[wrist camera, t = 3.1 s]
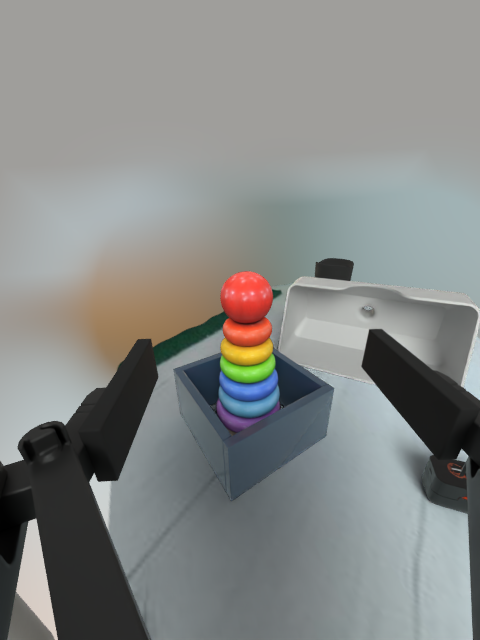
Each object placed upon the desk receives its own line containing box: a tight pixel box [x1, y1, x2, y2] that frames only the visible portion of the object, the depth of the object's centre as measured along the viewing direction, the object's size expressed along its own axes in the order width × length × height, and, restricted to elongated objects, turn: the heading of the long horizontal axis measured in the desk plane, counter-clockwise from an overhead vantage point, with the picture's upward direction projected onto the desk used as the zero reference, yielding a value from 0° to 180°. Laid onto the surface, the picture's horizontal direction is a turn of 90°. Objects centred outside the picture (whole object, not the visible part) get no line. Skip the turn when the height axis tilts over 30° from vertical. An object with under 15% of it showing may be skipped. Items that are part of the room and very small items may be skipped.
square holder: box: [173, 348, 334, 501], centre depth 30 cm, size 13×13×7 cm
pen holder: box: [315, 258, 354, 281], centre depth 69 cm, size 9×9×10 cm
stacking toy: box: [216, 271, 280, 436], centre depth 27 cm, size 8×8×19 cm
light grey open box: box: [278, 276, 480, 387], centre depth 42 cm, size 25×16×12 cm, turn 63°
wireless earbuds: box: [422, 455, 468, 514], centre depth 23 cm, size 5×7×3 cm, turn 71°
